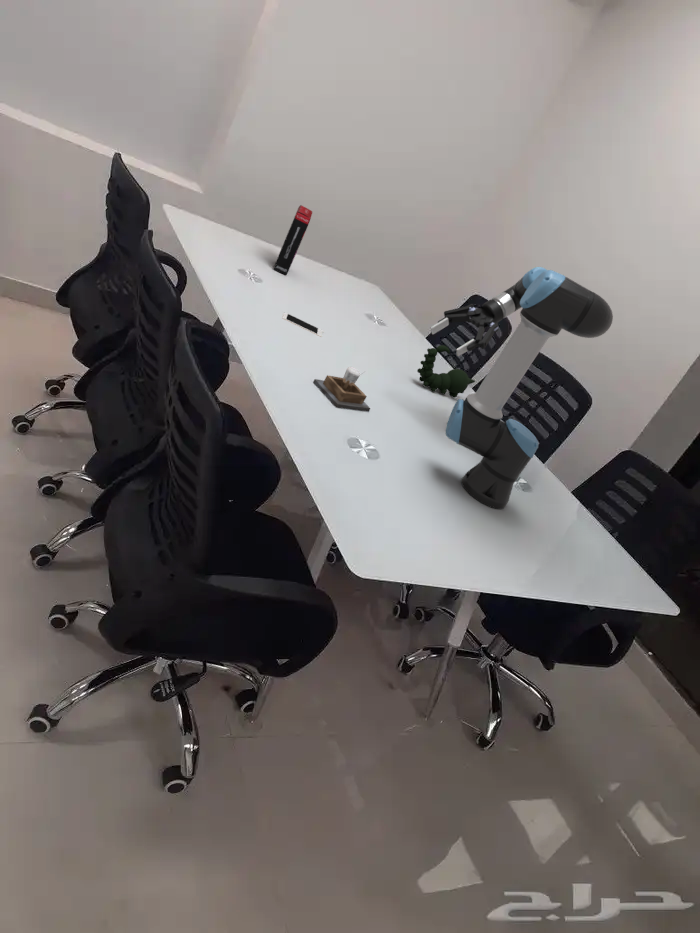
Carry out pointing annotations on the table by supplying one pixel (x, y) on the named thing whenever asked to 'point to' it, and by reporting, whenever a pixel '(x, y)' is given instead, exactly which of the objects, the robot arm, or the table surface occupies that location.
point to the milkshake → (349, 378)
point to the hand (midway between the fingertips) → (444, 341)
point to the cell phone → (302, 324)
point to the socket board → (342, 394)
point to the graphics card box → (293, 240)
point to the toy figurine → (442, 375)
